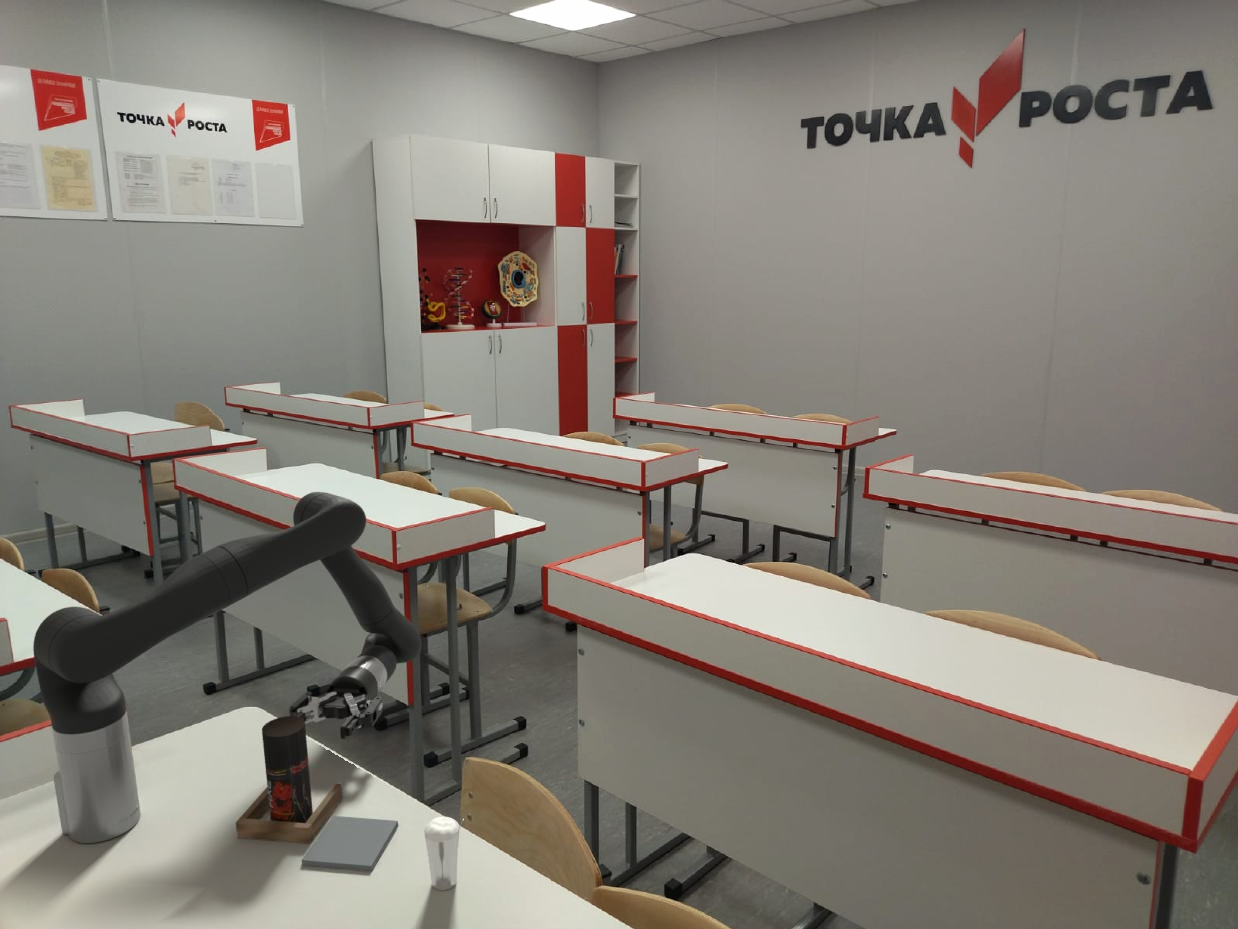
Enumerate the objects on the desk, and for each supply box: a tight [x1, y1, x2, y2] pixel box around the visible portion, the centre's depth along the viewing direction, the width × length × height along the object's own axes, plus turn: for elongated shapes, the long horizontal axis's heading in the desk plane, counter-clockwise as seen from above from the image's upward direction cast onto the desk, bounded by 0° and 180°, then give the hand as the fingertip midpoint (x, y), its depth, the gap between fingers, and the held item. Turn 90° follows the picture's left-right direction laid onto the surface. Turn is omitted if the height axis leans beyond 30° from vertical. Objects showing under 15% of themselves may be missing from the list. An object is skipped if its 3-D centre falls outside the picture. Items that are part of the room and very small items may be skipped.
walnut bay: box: [235, 783, 344, 845], centre depth 131 cm, size 11×11×2 cm
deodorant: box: [261, 715, 314, 823], centre depth 130 cm, size 6×6×15 cm
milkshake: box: [423, 816, 465, 891], centre depth 117 cm, size 5×5×10 cm
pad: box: [301, 815, 399, 872], centre depth 125 cm, size 10×10×1 cm
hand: (317, 732), depth 139 cm, fingers open, 8 cm apart
